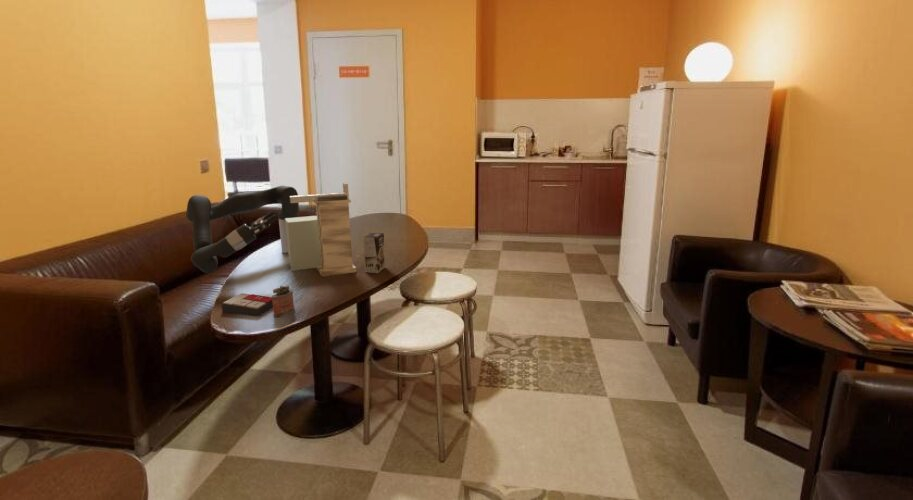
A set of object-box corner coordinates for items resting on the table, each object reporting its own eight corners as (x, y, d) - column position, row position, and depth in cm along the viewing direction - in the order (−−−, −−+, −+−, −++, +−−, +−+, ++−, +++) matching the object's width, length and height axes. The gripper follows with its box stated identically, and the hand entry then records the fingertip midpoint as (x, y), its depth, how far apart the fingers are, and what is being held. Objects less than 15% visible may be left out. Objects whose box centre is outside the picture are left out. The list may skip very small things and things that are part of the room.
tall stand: (317, 269, 224) (311, 195, 215) (350, 265, 230) (346, 193, 221) (322, 276, 214) (315, 199, 206) (356, 272, 221) (351, 196, 212)
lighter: (290, 309, 179) (288, 282, 176) (297, 311, 177) (294, 284, 174) (271, 316, 172) (268, 289, 170) (277, 318, 170) (274, 290, 168)
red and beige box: (257, 307, 171) (220, 301, 175) (258, 319, 173) (221, 313, 176) (276, 296, 182) (241, 291, 185) (277, 307, 183) (242, 302, 186)
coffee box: (378, 273, 219) (377, 237, 214) (365, 272, 220) (363, 236, 216) (385, 267, 227) (384, 232, 223) (372, 266, 228) (370, 232, 224)
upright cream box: (289, 264, 232) (284, 218, 226) (324, 260, 238) (320, 215, 232) (292, 270, 223) (287, 222, 217) (328, 266, 229) (324, 219, 224)
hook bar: (290, 202, 208) (288, 186, 207) (347, 197, 218) (346, 183, 216) (290, 203, 206) (289, 187, 204) (348, 198, 215) (347, 183, 214)
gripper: (246, 240, 210) (279, 218, 214) (247, 248, 198) (283, 225, 201) (234, 226, 207) (268, 204, 210) (235, 233, 194) (271, 210, 198)
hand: (275, 214), depth 206 cm, fingers open, 8 cm apart
